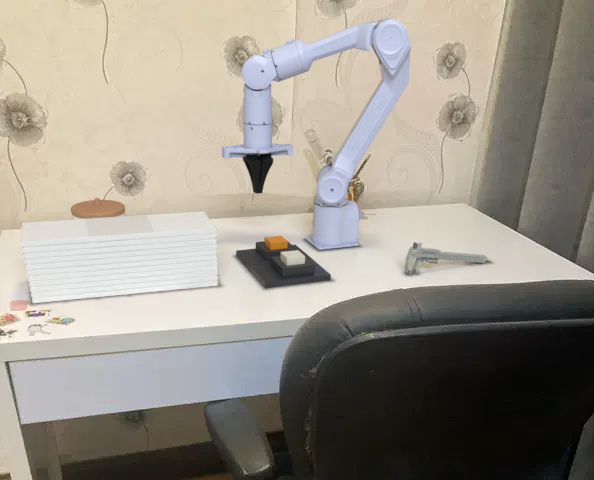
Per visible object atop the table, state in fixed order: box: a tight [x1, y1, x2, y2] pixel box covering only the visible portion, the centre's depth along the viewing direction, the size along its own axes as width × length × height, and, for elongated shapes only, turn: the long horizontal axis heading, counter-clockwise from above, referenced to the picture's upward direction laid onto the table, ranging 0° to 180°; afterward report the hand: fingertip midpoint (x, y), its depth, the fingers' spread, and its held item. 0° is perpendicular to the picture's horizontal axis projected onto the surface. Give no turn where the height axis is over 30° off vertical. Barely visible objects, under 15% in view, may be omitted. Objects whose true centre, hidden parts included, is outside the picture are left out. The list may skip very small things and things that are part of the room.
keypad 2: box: [249, 256, 332, 289], centre depth 125 cm, size 13×9×3 cm
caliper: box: [404, 241, 491, 275], centre depth 130 cm, size 20×1×6 cm, turn 116°
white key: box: [281, 250, 305, 266], centre depth 124 cm, size 4×4×2 cm
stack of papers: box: [20, 210, 219, 304], centre depth 118 cm, size 32×11×11 cm, turn 108°
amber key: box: [264, 235, 289, 250], centre depth 132 cm, size 4×4×2 cm
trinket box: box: [70, 197, 126, 219], centre depth 137 cm, size 11×11×9 cm
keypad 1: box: [235, 240, 313, 272], centre depth 132 cm, size 13×9×3 cm
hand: (257, 192), depth 138 cm, fingers closed
